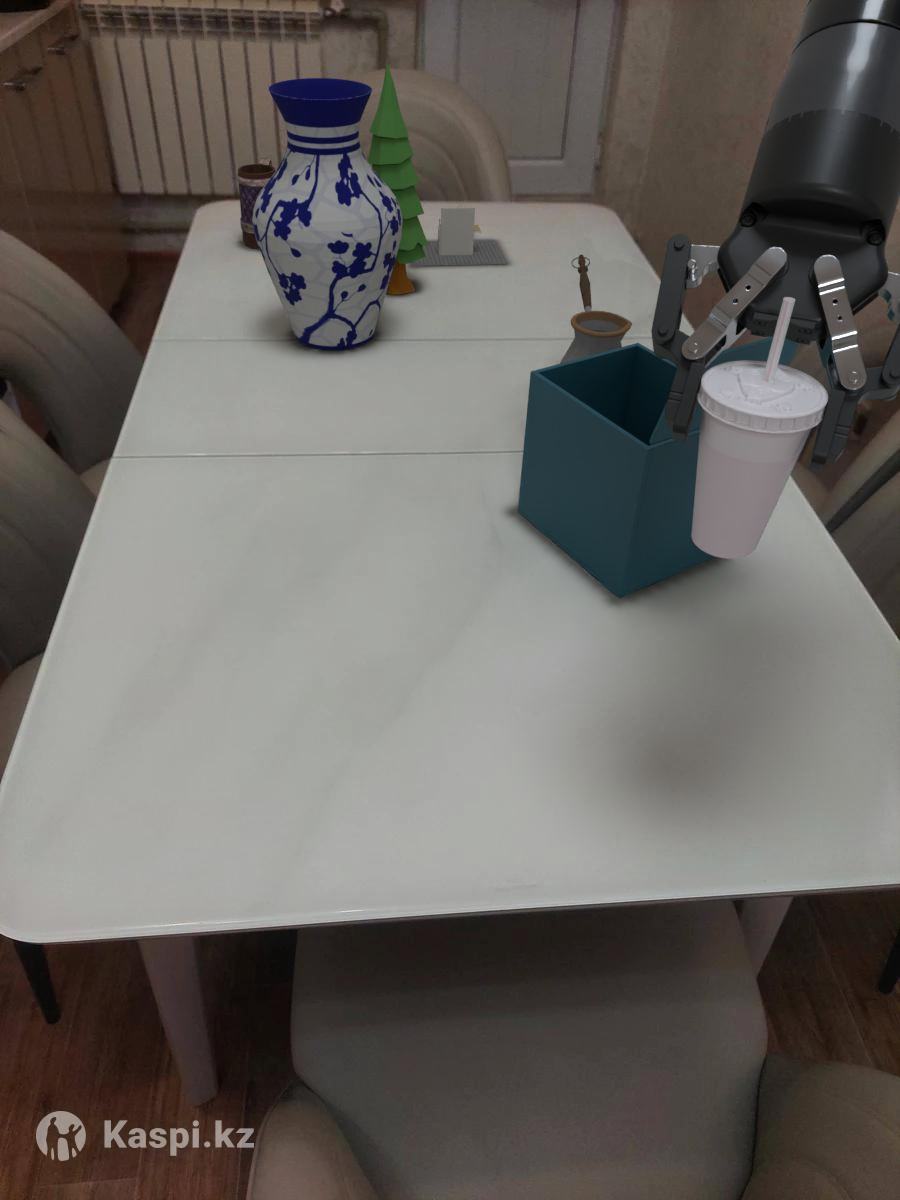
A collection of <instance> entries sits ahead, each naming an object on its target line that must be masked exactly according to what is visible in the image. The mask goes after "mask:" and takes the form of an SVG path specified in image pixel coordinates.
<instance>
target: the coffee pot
mask: <svg viewBox="0 0 900 1200" xmlns="http://www.w3.org/2000/svg"><path fill="white" fill-rule="evenodd" d="M576 260H577V261H578V262H577V264H578V266H575V265H574V264H573V263H574V261H576ZM586 260H588V263H587V265H586V262H587V261H586ZM570 263H571V267H573V268H574V269H577V272H578V274H579V285H578V286H579V289H580V294H581V300H582V305H583V309H584V311H581V312H579V313H576V314H573V316H572V317H571V319H570V326H571V327H572V329H573V331H574V332H573V333H574V339H573V340H572V342H571V343H570V345H569V346H568V348H567V350H566V352H565V354H564V355H563V357H562V358H561V361H560V362H559V364H561V363H564V362H568V361H572V360H576V359H579V358H583V357H587V356H591V355H594V354H598V353H602V352H606V351H609V350H613V349H617V348H621V347H623V346H622V345H623V344H622V340H623V339H624V337H625V336H626V334H627V333H628V332H629V331H630V329H631V327H632V325H633V322H632V321H631V320H629V319H627V318H626V317H624V316H622V315H620V314H617V313H614V312H610V311H606V310H605V311H604V310H592V309H593V308H592V307H593V306H592V292H591V281H590V279H589V276H588V272H589V268H588V267H589V266H590V265H591V260H590V258H589V257H587V256H585V255H584V254H579V255H578V256H577V257H574V258H573V259H572V260H571V262H570Z"/></svg>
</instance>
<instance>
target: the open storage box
mask: <svg viewBox="0 0 900 1200" xmlns="http://www.w3.org/2000/svg"><path fill="white" fill-rule="evenodd" d="M676 370H677V367H676V366H675V364H674V363H672V362H670V361H669V360H667V359H661V358H658V357H657V356H656V355H655V353H654V350H653V349H650V348H648V347H647V346H644V345H643V344H641V343H640V342H636V343H632V344H628V345H625V346H622V347H621V348H617V349H613V350H609V351H606V352H602V353H598V354H594V355H591V356H587V357H583V358H579V359H576V360H572V361H568V362H564V363H561V364H560V363H557V364H554V365H550V366H546V367H543V368H538V369H535V370H531V371H530V373H529V374H530V375H529V386H528V396H527V405H526V406H527V407H526V416H525V417H526V418H525V428H524V437H523V438H524V439H523V449H522V458H521V459H522V461H521V470H520V471H521V472H520V473H521V474H520V483H519V493H518V503H517V512H518V513H519V514H520V515H521V516H522V517H524V518H525V520H527V521H528V522H529V523H531V524H532V525H533V526H534V527H535V528H536V529H538V530H539V531H540V532H541V533H542V534H543V535H544V536H546V537H547V538H548V539H549V540H550V541H552V542H553V543H554V544H555V545H556V546H558V547H559V548H560V549H561V550H562V551H564V553H566V554H567V555H568V556H569V557H570V558H572V560H574V561H575V562H576V563H577V564H578V565H580V566H581V567H582V568H583V569H584V570H586V572H588V573H589V574H590V575H591V576H592V577H594V578H595V579H596V580H597V581H598V582H599V583H601V584H602V585H603V586H604V587H605V588H606V589H608V590H609V592H611V593H613V594H614V595H615V597H617V598H619V599H621V598H623V597H626V596H627V595H629V594H632V593H635V592H637V591H639V590H641V589H643V588H646V587H648V586H651V585H654V584H655V583H658V582H660V581H662V580H665V579H668V578H670V577H672V576H674V575H677V574H679V573H682V572H684V571H686V570H688V569H691V568H693V567H696V566H698V565H701V564H703V563H705V562H708V561H710V560H712V559H715V558H717V557H716V556H713V555H710V554H708V553H706V552H704V551H702V550H701V549H700V548H698V547H697V546H696V545H695V543H694V542H693V540H692V522H693V510H694V498H695V486H696V474H697V462H698V449H699V437H700V428H698V429H695V430H692V431H689V434H688V438H687V441H686V442H681V441H677V440H673V437H671V438H668V439H665V440H662V441H659V442H656V443H653V444H651V443H650V442H649V440H650V438H651V436H652V434H653V432H654V429H655V427H656V425H657V423H658V421H659V418H660V416H661V414H662V412H663V409H664V407H665V405H666V403H667V400H668V397H669V393H670V390H671V387H672V383H673V380H674V376H675V373H676Z"/></svg>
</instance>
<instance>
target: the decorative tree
mask: <svg viewBox="0 0 900 1200" xmlns="http://www.w3.org/2000/svg"><path fill="white" fill-rule="evenodd" d="M369 133H371V134H372V138H371V143H370V147H369V152H368V157H367V161H368V163H369V164H370V165H371V167H372V169H373V170H374V171H375V172H376V173H377V175H378V176H379V177H380V178H381V179H382V180H383V182H384V183H385V184H386V185H387V186H388V187H389V189H390V190H391V191H392V193H393V194H394V195H395V197H396V199H397V201H398V203H399V206H400V210H401V215H402V220H403V221H402V236H401V241H400V245H399V249H398V253H397V257H396V261H395V265H394V269H393V272H392V276H391V279H390V282H389V286H388V289H387V292H386V294H389V295H391V296H393V295H395V296H396V295H403V294H408V293H412V292H415V291H416V289H415V287H414V284H413V282H412V281H411V279H410V278H409V276H408V274H407V265H408V264H411V263H414V262H413V261H416V260H419V259H422V258H424V257H425V254H424V250H423V247H422V246H427V245H428V242H429V241H428V240H427V237H426V235H425V232H424V229H423V226H422V224H421V221H420V219H419V216H421V215H424V214H425V211H424V208H423V206H422V204H421V201H420V198H419V195H418V193H417V190H416V187H415V185H418V184H420V180H419V178H418V175H417V171H416V169H415V166H414V164H413V162H412V159H411V158H412V157H413V156H414V150H413V148H412V146H411V142H410V140H409V138H410V136H409V133H408V129H407V127H406V124H405V121H404V118H403V115H402V111H401V108H400V104H399V100H398V95H397V91H396V86H395V82H394V79H393V76H392V73H391V70H390V67H389V63H388V62H387V61H386V63H385V70H384V77H383V84H382V88H381V91H380V97H379V101H378V105H377V109H376V111H375V115H374V117H373V120H372V123H371V126H370V128H369Z"/></svg>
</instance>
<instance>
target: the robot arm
mask: <svg viewBox="0 0 900 1200" xmlns="http://www.w3.org/2000/svg"><path fill="white" fill-rule="evenodd" d="M760 140H761V141H760V144H759V147H758V149H757V153H756V157H755V160H754V164H753V167H752V170H751V174H750V177H749V180H748V184H747V188H746V191H745V194H744V198H743V202H742V205H741V208H740V211H739V215H738V218H737V221H736V225H735V227H734V229H732V232H731V233H730V235H729V236H728V237H727V238H726V239H724V241H723V242H722V243H721V244H720V245H707V244H692V241H691V239H690V237H689V236H688V235H686V234H685V233H678V234H674V235H673V236H672V237H670V239H669V240H668V242H667V246H666V251H665V257H664V261H663V268H662V271H661V272H662V273H661V278H660V283H659V288H658V293H657V299H656V303H655V309H654V314H653V321H652V326H651V339H652V351H654V353H655V355H656V356H657V357H658V358H661V359H667V360H669V361H670V362H672V363H674V364H675V366H676V367H677V370H676V373H675V376H674V380H673V383H672V387H671V390H670V393H669V397H668V400H667V403H666V407H665V417H666V426H667V428H672V437H673V440H677V441H681V442H686V441H687V438H688V434H689V431H690V427H691V424H692V421H693V417H694V414H695V411H696V407H697V404H698V398H697V393H698V391H699V389H700V385H701V379H702V376H703V375H704V373H705V369H706V368H707V367H708V366H709V365H710V364H711V363H712V362H713V361H714V360H715V359H716V357H717V356H718V355H719V354H720V353H721V352H722V351H724V350H728V349H730V347H732V346H733V344H734V343H736V341H737V340H738V339H739V338H740V337H741V336H742V335H743V334H744V333H745V332H746V331H747V330H748V331H749V335H751V336H755V337H762V338H769V337H773V336H774V333H775V329H776V325H777V321H778V318H779V314H780V310H781V306H782V302H783V298H785V297H791V298H794V299H795V303H794V307H793V311H792V314H791V318H790V322H789V325H788V329H787V333H786V336H785V338H786V339H788V340H791V341H793V342H795V343H800V345H801V344H802V345H806V346H807V345H808V346H810V345H811V343H812V342H815V343H816V347H817V350H818V353H819V357H820V358H819V359H820V361H821V365H822V367H823V368H824V370H825V372H826V375H827V378H828V379H827V380H828V382H829V387H830V389H831V390H830V392H829V394H828V402H827V405H826V408H825V411H824V416H823V420H822V421H821V422H820V423H819V424H818V425H819V426H818V429H817V433H816V436H815V440H814V443H813V447H812V450H811V453H810V456H809V460H808V464H807V468H806V470H808V471H813V472H818V473H822V471H823V469H824V467H825V465H826V463H829V464H830V463H831V464H836V462H837V461H838V459H839V458H840V457H841V456H842V454H843V452H844V451H845V449H846V448H847V447H846V446H847V442H848V440H849V436H850V432H851V428H852V425H853V422H854V419H855V415H856V412H857V407H858V406H859V405H860V404H861V403H863V402H867V401H872V400H878V401H879V402H890V401H893V400H894V399H895V398H896V397H897V395H898V394H899V392H900V273H897V272H893V271H890V270H889V265H888V262H887V259H886V245H887V242H888V238H889V236H890V235H889V234H890V231H891V228H892V225H893V221H894V218H895V215H896V210H897V207H898V203H899V200H900V0H807V1H806V5H805V7H804V13H803V15H802V18H801V22H800V25H799V29H798V32H797V35H796V39H795V42H794V45H793V49H792V52H791V56H790V59H789V62H788V64H787V67H786V70H785V72H784V73H783V76H782V79H781V81H780V83H779V85H778V87H777V90H776V92H775V95H774V97H773V100H772V103H771V107H770V109H769V113H768V117H767V120H766V123H765V126H764V131H763V134H762V137H761V139H760ZM713 271H716V272H717V275H718V278H719V279H720V282H721V284H722V287H723V289H724V291H725V294H724V296H723V297H722V298H721V299H720V300H719V301H717V303H716V304H715V305H714V307H712V309H711V310H710V312H709V314H708V316H707V318H706V319H705V320H704V321H703V322H702V323H701V324H700V325H699V326H698V327H697V328H696V329H695V330H694V331H693V332H692V334H691V335H690V336H689V334H686V333H685V332H683V331H681V330H680V328H681V323H682V318H683V312H684V309H685V307H684V306H685V302H686V297H687V291H688V290H693V289H696V288H697V287H699V286H700V285H701V284H702V282H703V280H704V277H705V276H706V275H707V274H708V273H709V272H713ZM878 297H881V298H883V299H884V300H885V301H886V303H887V311H886V315H887V318H888V320H889V321H891V322H892V323H895V324H897V328H896V329H895V333H894V335H893V338H892V340H891V342H890V344H889V347H888V350H887V353H886V355H885V356H884V360H883V362H882V365H879V366H873V367H865V364H864V361H863V357H862V353H861V350H860V346H859V333H858V329H857V325H856V321H855V316H856V315H857V314H858V313H860V312H861V311H862V310H864V309H865V308H866V307H867V306H869V305H870V304H871V303H873V301H875V300H876V299H877V298H878Z"/></svg>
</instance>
